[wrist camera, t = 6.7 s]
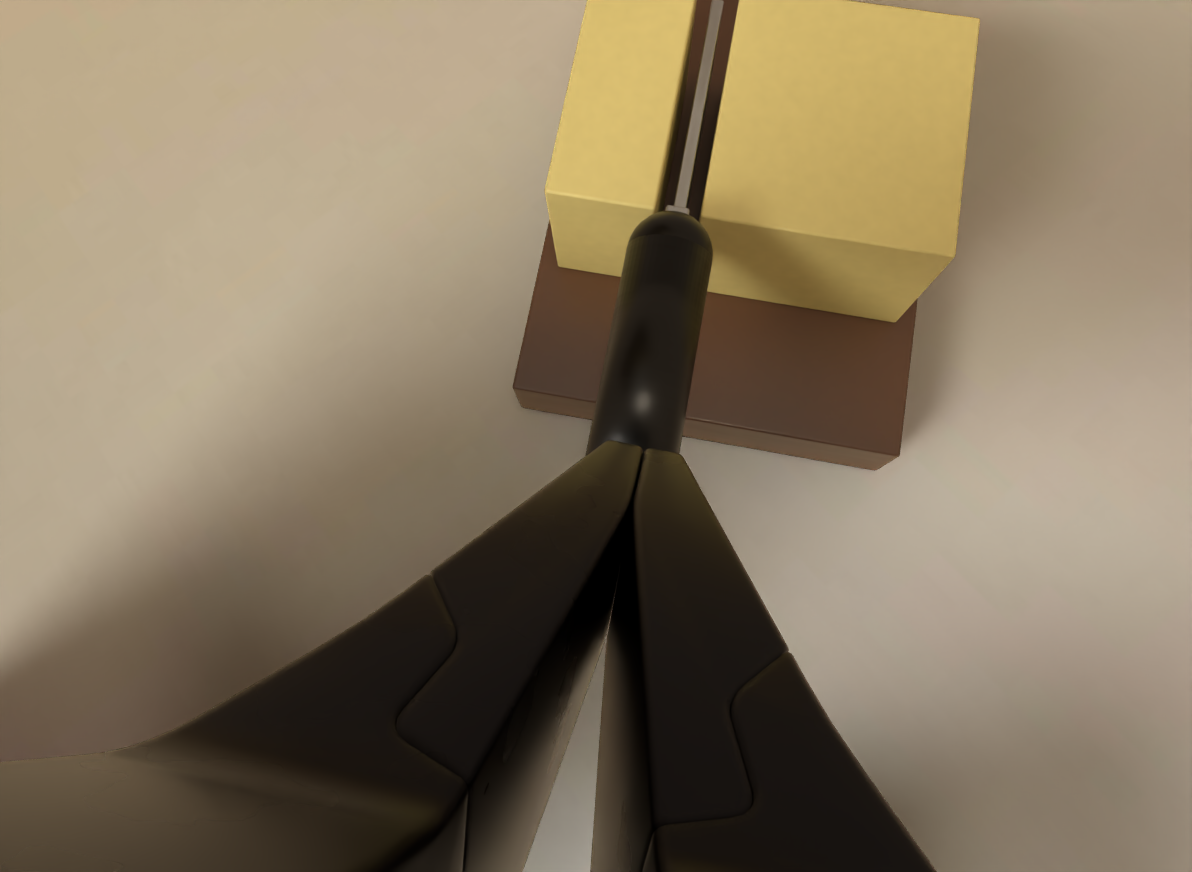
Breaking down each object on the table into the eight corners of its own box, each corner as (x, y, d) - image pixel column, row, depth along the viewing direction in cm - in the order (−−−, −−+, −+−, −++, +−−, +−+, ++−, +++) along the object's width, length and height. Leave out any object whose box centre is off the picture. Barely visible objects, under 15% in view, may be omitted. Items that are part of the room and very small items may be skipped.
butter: (895, 323, 22) (956, 257, 18) (557, 267, 22) (543, 191, 18) (920, 121, 23) (980, 17, 19) (599, 73, 24) (594, -37, 20)
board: (876, 471, 23) (900, 456, 21) (521, 407, 23) (511, 387, 22) (925, 62, 26) (950, 15, 24) (606, 16, 26) (604, -33, 24)
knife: (647, 601, 20) (656, 593, 15) (574, 587, 20) (557, 574, 15) (738, 83, 23) (771, -74, 18) (674, 73, 23) (688, -85, 18)
